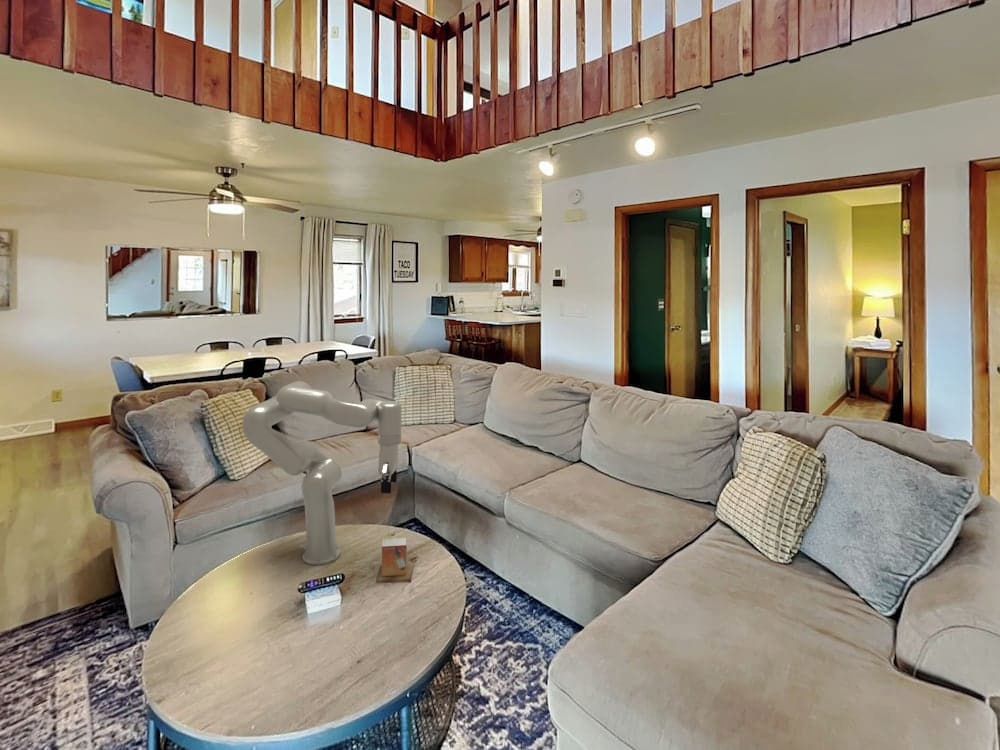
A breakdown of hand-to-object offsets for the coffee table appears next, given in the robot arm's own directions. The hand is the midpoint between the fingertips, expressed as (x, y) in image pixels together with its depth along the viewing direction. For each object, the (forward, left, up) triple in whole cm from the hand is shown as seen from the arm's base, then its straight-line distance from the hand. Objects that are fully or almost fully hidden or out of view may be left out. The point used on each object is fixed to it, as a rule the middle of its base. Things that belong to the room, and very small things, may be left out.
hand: (389, 487), depth 179 cm
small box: (+7, -8, -25) cm, 27 cm away
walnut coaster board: (+7, -8, -26) cm, 28 cm away
